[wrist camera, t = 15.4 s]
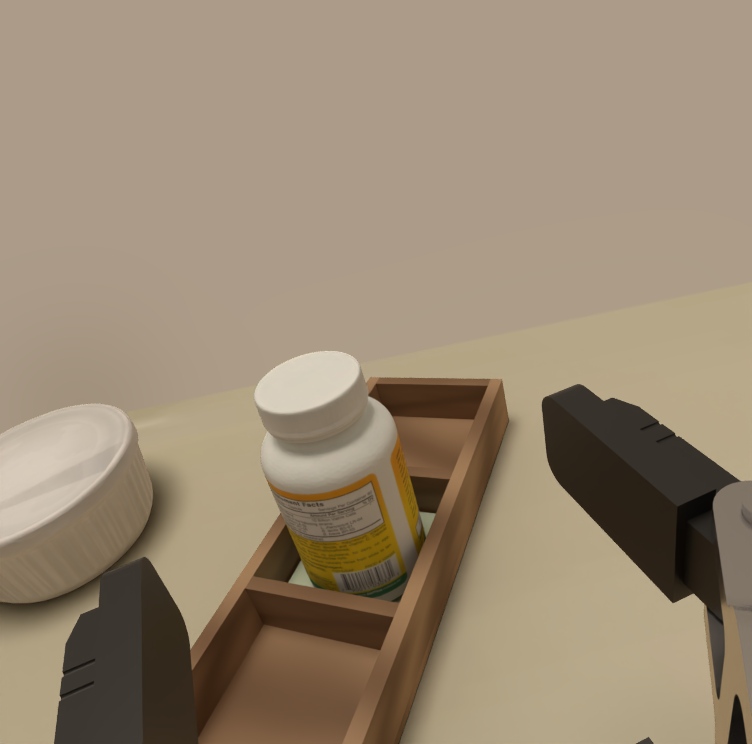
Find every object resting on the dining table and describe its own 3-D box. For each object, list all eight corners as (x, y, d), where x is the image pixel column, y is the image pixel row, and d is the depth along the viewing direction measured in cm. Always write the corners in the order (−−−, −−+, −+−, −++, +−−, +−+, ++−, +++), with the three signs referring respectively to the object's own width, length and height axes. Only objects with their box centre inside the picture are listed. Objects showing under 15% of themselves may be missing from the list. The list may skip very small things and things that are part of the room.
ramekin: (51, 655, 28) (-14, 577, 26) (-71, 593, 34) (-134, 524, 31) (211, 485, 36) (174, 412, 33) (90, 458, 42) (50, 394, 39)
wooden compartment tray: (348, 890, 18) (322, 848, 17) (149, 807, 21) (113, 766, 20) (508, 419, 34) (502, 379, 33) (381, 414, 38) (370, 377, 36)
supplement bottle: (378, 635, 24) (303, 443, 19) (286, 581, 28) (203, 406, 23) (455, 539, 27) (407, 352, 22) (364, 501, 31) (305, 332, 26)
